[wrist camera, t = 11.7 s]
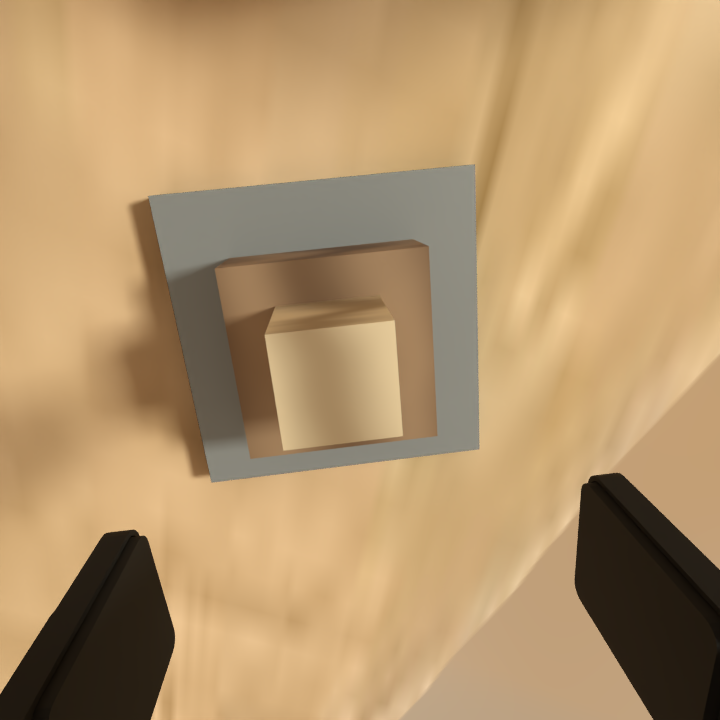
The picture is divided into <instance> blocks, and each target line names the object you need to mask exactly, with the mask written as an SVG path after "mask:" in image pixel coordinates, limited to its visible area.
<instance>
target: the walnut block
mask: <svg viewBox="0 0 720 720" xmlns="http://www.w3.org/2000/svg"><path fill="white" fill-rule="evenodd" d="M215 273H216V279H217V284H218V289H219V295H220V300H221V305H222V311H223V316H224V321H225V327H226V332H227V337H228V343H229V348H230V353H231V359H232V364H233V369H234V375H235V380H236V385H237V391H238V396H239V401H240V406H241V412H242V417H243V422H244V428H245V433H246V438H247V444H248V449H249V454H250V459H255V458H263V457H271V456H279V455H287V454H296V453H304V452H312V451H320V450H328V449H336V448H344V447H353V446H361V445H369V444H377V443H385V442H393V441H402V440H410V439H418V438H426V437H434V436H438V434H437V413H436V391H435V369H434V347H433V325H432V304H431V282H430V260H429V246H427V245H425V244H423V243H421V242H418V241H416V240H414V239H409V240H400V241H390V242H380V243H370V244H361V245H351V246H341V247H332V248H322V249H312V250H303V251H293V252H283V253H274V254H264V255H254V256H245V257H235V258H229V259H227V260H226V261H225V262H223V263H222V264H220V265H219V266H218V267H216V268H215ZM377 295H380V297H381V299H382V300H383V302H384V304H385V305H386V307H387V309H388V310H389V312H390V313H391V315H392V317H393V318H394V320H395V331H396V345H397V359H398V373H399V387H400V401H401V415H402V429H403V436H400V437H392V438H384V439H376V440H367V441H359V442H351V443H343V444H335V445H327V446H318V447H310V448H302V449H294V450H286V451H283V445H282V439H281V433H280V427H279V421H278V415H277V408H276V402H275V396H274V390H273V384H272V378H271V371H270V365H269V359H268V353H267V347H266V341H265V332H266V330H267V327H268V324H269V322H270V319H271V317H272V314H273V311H274V309H275V306H284V305H294V304H303V303H312V302H321V301H331V300H340V299H349V298H358V297H368V296H377Z"/></svg>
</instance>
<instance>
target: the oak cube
mask: <svg viewBox="0 0 720 720" xmlns="http://www.w3.org/2000/svg"><path fill="white" fill-rule="evenodd" d="M265 341H266V347H267V353H268V359H269V365H270V371H271V378H272V384H273V390H274V396H275V402H276V408H277V415H278V421H279V427H280V433H281V439H282V445H283V451H286V450H294V449H302V448H310V447H318V446H327V445H335V444H343V443H351V442H359V441H367V440H376V439H384V438H392V437H400V436H403V429H402V415H401V401H400V387H399V373H398V359H397V345H396V331H395V320H394V318H393V317H392V315H391V313H390V312H389V310H388V309H387V307H386V305H385V304H384V302H383V300H382V299H381V297H380V295H377V296H368V297H358V298H349V299H340V300H331V301H321V302H312V303H303V304H294V305H284V306H275V309H274V311H273V314H272V317H271V319H270V322H269V324H268V327H267V330H266V332H265Z"/></svg>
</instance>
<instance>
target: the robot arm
mask: <svg viewBox="0 0 720 720" xmlns="http://www.w3.org/2000/svg"><path fill="white" fill-rule="evenodd" d="M575 588H576V591H577V594H578V596H579V599H580V600H581V602H582V604H583V605H584V607H585V609H586V610H587V612H588V614H589V615H590V617H591V618H592V620H593V622H594V623H595V625H596V627H597V628H598V630H599V631H600V633H601V635H602V636H603V638H604V640H605V641H606V643H607V645H608V646H609V648H610V649H611V651H612V653H613V654H614V656H615V658H616V659H617V661H618V663H619V664H620V666H621V667H622V669H623V670H624V672H625V674H626V676H627V677H628V679H629V680H630V682H631V684H632V685H633V687H634V689H635V690H636V692H637V694H638V695H639V697H640V698H641V700H642V702H643V703H644V705H645V706H646V708H647V710H648V711H649V713H650V715H651V716H652V718H653V720H720V570H719V569H718V568H717V567H716V566H715V565H714V564H713V563H712V562H711V561H710V560H709V559H708V558H707V557H706V556H705V555H704V554H703V553H702V552H701V551H700V550H699V549H698V548H697V547H696V546H695V545H694V544H693V543H692V542H691V541H690V540H689V539H688V538H687V537H685V536H684V535H683V534H682V533H681V532H680V531H679V530H678V529H677V528H676V527H675V526H674V525H673V524H672V523H671V522H670V521H669V520H668V519H667V518H666V517H665V516H664V515H663V514H662V513H661V512H660V511H659V510H658V509H657V508H656V507H655V506H654V505H653V504H652V503H651V502H650V501H649V500H648V499H647V498H646V497H645V496H644V495H643V494H641V493H640V491H638V490H637V489H636V488H635V487H634V486H633V485H632V484H631V483H630V482H629V481H628V480H627V479H626V478H625V477H624V476H623V475H621V474H620V473H612V474H603V475H595V476H591V477H590V479H589V481H588V483H586V484H583V486H582V489H581V500H580V514H579V529H578V541H577V556H576V569H575ZM174 644H175V632H174V628H173V624H172V621H171V617H170V614H169V611H168V607H167V604H166V600H165V597H164V594H163V590H162V587H161V583H160V580H159V576H158V573H157V570H156V566H155V563H154V559H153V556H152V553H151V549H150V546H149V542H148V540H147V538H146V537H145V536H139V534H138V532H137V531H136V530H127V531H118V532H110V533H106V534H104V535H103V536H102V538H101V539H100V541H99V542H98V544H97V546H96V547H95V549H94V550H93V552H92V553H91V555H90V557H89V558H88V560H87V561H86V563H85V564H84V566H83V568H82V569H81V571H80V572H79V574H78V575H77V577H76V579H75V580H74V582H73V583H72V585H71V586H70V588H69V590H68V591H67V593H66V594H65V596H64V597H63V599H62V601H61V602H60V604H59V605H58V607H57V608H56V610H55V611H54V612H53V613H52V615H51V616H50V617H49V619H48V620H47V622H46V624H45V625H44V627H43V628H42V630H41V631H40V633H39V635H38V636H37V638H36V639H35V641H34V642H33V644H32V646H31V647H30V649H29V650H28V652H27V653H26V655H25V656H24V658H23V660H22V661H21V663H20V664H19V666H18V667H17V669H16V671H15V672H14V674H13V675H12V677H11V678H10V680H9V682H8V683H7V685H6V686H5V688H4V689H3V691H2V692H1V694H0V720H151V717H152V714H153V711H154V708H155V705H156V702H157V698H158V695H159V692H160V689H161V686H162V683H163V680H164V677H165V674H166V671H167V668H168V665H169V662H170V659H171V656H172V653H173V649H174Z"/></svg>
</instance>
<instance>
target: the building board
mask: <svg viewBox="0 0 720 720" xmlns="http://www.w3.org/2000/svg"><path fill="white" fill-rule="evenodd" d="M148 197H149V202H150V206H151V211H152V215H153V220H154V224H155V229H156V234H157V238H158V243H159V247H160V252H161V256H162V261H163V265H164V270H165V274H166V279H167V283H168V288H169V292H170V297H171V301H172V306H173V310H174V315H175V319H176V324H177V328H178V333H179V337H180V342H181V346H182V351H183V356H184V360H185V365H186V369H187V374H188V378H189V383H190V387H191V392H192V396H193V401H194V405H195V410H196V414H197V419H198V423H199V428H200V432H201V437H202V441H203V446H204V450H205V455H206V459H207V464H208V468H209V473H210V478H211V482H220V481H228V480H236V479H244V478H252V477H260V476H268V475H276V474H284V473H292V472H300V471H308V470H316V469H324V468H332V467H340V466H348V465H356V464H364V463H372V462H381V461H389V460H397V459H405V458H413V457H421V456H429V455H437V454H445V453H453V452H461V451H469V450H477V449H479V392H478V327H477V261H476V195H475V164H474V165H464V166H454V167H443V168H433V169H423V170H412V171H402V172H392V173H381V174H371V175H361V176H350V177H340V178H330V179H319V180H309V181H299V182H288V183H278V184H268V185H257V186H247V187H236V188H226V189H216V190H205V191H195V192H185V193H174V194H164V195H154V196H148ZM409 239H414V240H416V241H418V242H421V243H423V244H425V245H427V246H429V260H430V282H431V304H432V325H433V347H434V369H435V391H436V413H437V434H438V436H434V437H426V438H418V439H410V440H402V441H393V442H385V443H377V444H369V445H361V446H353V447H344V448H336V449H328V450H320V451H312V452H304V453H296V454H287V455H279V456H271V457H263V458H255V459H250V454H249V449H248V444H247V438H246V433H245V428H244V422H243V417H242V412H241V406H240V401H239V396H238V391H237V385H236V380H235V375H234V369H233V364H232V359H231V353H230V348H229V343H228V337H227V332H226V327H225V321H224V316H223V311H222V305H221V300H220V295H219V289H218V284H217V279H216V273H215V268H216V267H218V266H219V265H220V264H222V263H223V262H225V261H226V260H227V259H229V258H235V257H245V256H254V255H264V254H274V253H283V252H293V251H303V250H312V249H322V248H332V247H341V246H351V245H361V244H370V243H380V242H390V241H400V240H409Z"/></svg>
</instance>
